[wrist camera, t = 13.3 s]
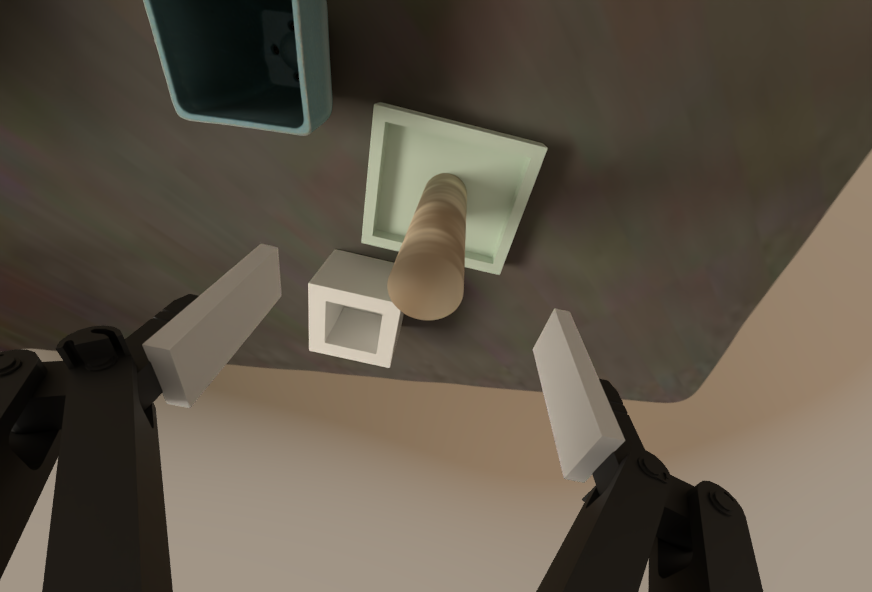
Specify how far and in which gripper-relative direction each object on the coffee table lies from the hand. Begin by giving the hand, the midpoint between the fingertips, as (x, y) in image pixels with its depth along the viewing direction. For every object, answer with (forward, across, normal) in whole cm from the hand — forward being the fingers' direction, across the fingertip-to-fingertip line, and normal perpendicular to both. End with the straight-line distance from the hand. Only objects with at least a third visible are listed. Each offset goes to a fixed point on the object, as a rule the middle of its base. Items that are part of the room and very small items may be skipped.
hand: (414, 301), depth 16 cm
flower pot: (+19, -13, +8) cm, 24 cm away
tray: (+18, +1, 0) cm, 18 cm away
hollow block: (+18, -5, -13) cm, 23 cm away
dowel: (+18, +1, 0) cm, 18 cm away
